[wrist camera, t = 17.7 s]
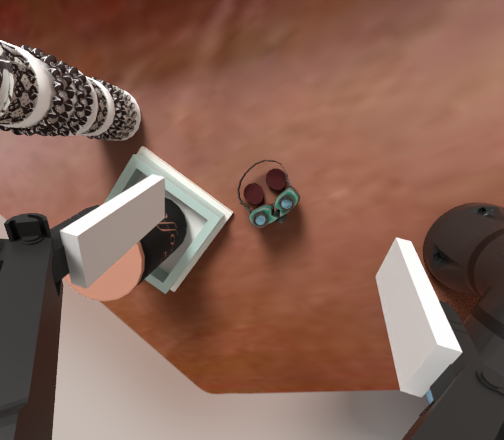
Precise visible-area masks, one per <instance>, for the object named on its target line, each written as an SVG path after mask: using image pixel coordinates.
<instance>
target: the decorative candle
mask: <svg viewBox="0 0 504 440" xmlns="http://www.w3.org/2000/svg"><path fill="white" fill-rule="evenodd" d="M34 54H35V55H34ZM37 58H41V59H37ZM140 121H141V114H140V108H139V106H138V104H137V102H136V100H135V99H134V98H133V97H132V96H131V95H130V94H129V93H128V92H126V91H124V90H123V89H119V88H118V87H117V86H112V85H111V84H109V83H106V82H105V81H102V80H98V79H97V78H95V77H91V78H88V77H86V76H84V75H83V74H82V73H81V72H80V71H78V69H77V68H76V67H69V66H68V65H67V64H66V63H65V62H62V61H60V62H57V60H56V58H55V57H54V56H53V55H47V56H46V55H45V54H44V53H43V52H42V51H41V50H40V49H37V48H33V49H32V48H31V47H30V46H28V45H23V46H21V47H20V48H19V47H17V46H14V45H11V44H9V43H6V42H3V41H1V40H0V129H1V130H3V131H10V130H12V132H13V133H14V134H16V135H22V134H25V135H27V136H31V135H33V134H36V133H37V134H39V135H42V136H47V135H50V136H53V137H54V136H56V135H61V136H71V135H82V136H87V137H88V138H90V139H93V138H95V139H102V140H105V141H106V140H109V141H113V140H114V141H122V140H127V139H128V138H130V137H132V136H133V135H134V134H135V133H136V131H137V130H138V129H139V125H140ZM22 127H26V129H25V128H22ZM48 129H49V130H48Z"/></svg>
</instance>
